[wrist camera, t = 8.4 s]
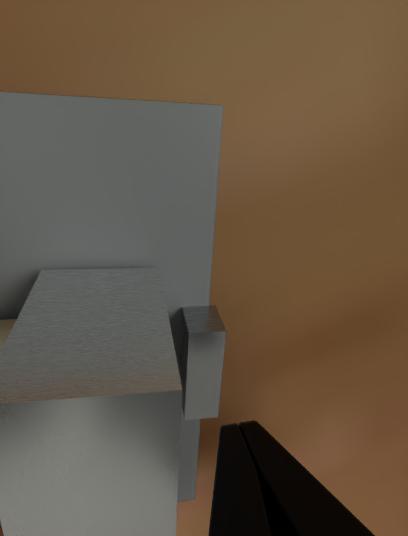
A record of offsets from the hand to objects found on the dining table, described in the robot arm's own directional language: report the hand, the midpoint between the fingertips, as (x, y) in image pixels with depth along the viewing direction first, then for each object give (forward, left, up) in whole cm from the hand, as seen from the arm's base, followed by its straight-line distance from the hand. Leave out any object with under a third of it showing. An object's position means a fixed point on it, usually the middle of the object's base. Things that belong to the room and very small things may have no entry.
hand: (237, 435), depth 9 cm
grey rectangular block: (0, -3, -3) cm, 4 cm away
